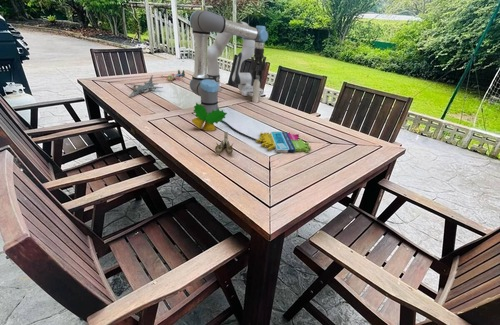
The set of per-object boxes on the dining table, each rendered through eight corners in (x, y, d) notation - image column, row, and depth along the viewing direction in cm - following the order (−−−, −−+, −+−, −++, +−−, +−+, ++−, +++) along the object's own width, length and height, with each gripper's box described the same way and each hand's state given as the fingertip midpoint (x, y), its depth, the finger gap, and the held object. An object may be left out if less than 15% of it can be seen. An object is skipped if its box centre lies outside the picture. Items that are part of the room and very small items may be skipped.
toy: (193, 71, 287) (180, 75, 262) (193, 77, 291) (181, 82, 265) (170, 68, 292) (155, 72, 266) (170, 75, 296) (156, 79, 270)
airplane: (123, 87, 237) (120, 75, 231) (158, 84, 250) (157, 74, 245) (127, 99, 208) (125, 87, 203) (167, 96, 221) (166, 84, 216)
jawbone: (234, 135, 144) (233, 125, 135) (233, 160, 138) (232, 151, 129) (217, 135, 144) (216, 125, 135) (216, 160, 138) (214, 150, 129)
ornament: (218, 133, 171) (224, 110, 169) (221, 134, 163) (227, 111, 161) (186, 125, 162) (192, 101, 160) (189, 126, 155) (195, 101, 153)
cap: (256, 78, 217) (256, 75, 216) (260, 79, 215) (261, 76, 214) (253, 78, 214) (253, 75, 213) (257, 79, 212) (257, 76, 210)
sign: (313, 150, 142) (258, 149, 139) (312, 153, 143) (258, 152, 140) (301, 132, 164) (254, 130, 161) (301, 134, 165) (254, 133, 162)
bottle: (254, 100, 227) (256, 75, 217) (259, 101, 224) (261, 76, 214) (250, 101, 223) (252, 76, 213) (255, 102, 220) (257, 77, 210)
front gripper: (252, 48, 196) (250, 80, 207) (271, 48, 204) (268, 79, 216) (247, 47, 202) (245, 78, 213) (265, 47, 210) (263, 77, 221)
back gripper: (238, 87, 224) (245, 91, 214) (259, 86, 233) (267, 90, 223) (238, 94, 228) (245, 99, 217) (258, 93, 236) (266, 97, 226)
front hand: (257, 78), depth 214 cm, fingers closed on cap, 4 cm apart
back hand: (256, 94), depth 220 cm, fingers closed on bottle, 5 cm apart
